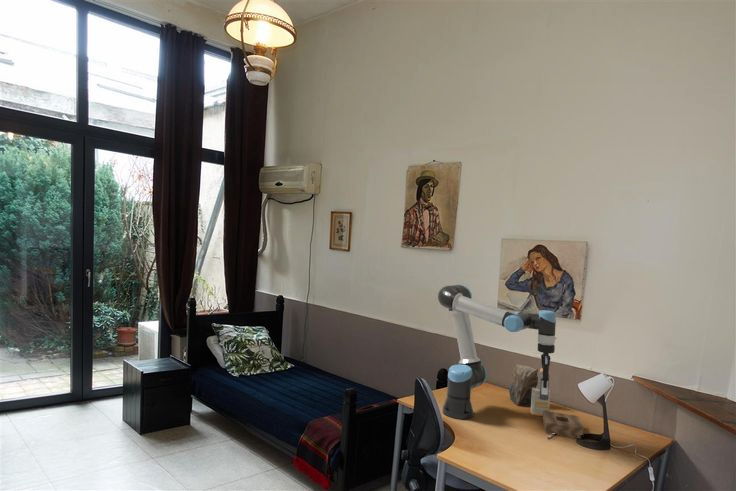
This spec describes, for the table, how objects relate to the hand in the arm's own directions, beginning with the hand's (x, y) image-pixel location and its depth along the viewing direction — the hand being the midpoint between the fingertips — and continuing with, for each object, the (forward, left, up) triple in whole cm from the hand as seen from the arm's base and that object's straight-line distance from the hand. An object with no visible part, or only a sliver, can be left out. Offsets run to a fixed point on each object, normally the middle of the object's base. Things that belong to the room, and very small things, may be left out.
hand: (544, 392), depth 215 cm
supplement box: (0, +20, -18) cm, 27 cm away
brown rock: (-9, +34, -18) cm, 40 cm away
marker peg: (0, 0, -3) cm, 3 cm away
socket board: (+9, +4, -18) cm, 20 cm away
